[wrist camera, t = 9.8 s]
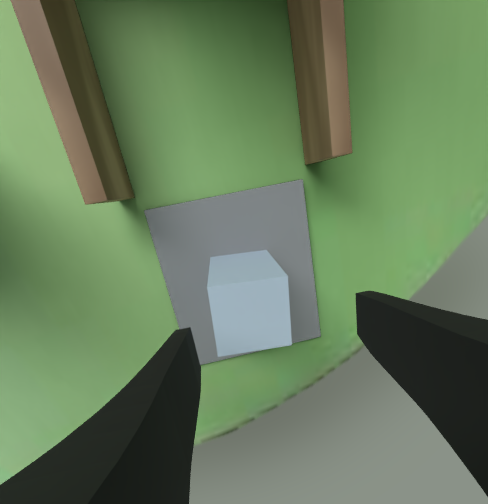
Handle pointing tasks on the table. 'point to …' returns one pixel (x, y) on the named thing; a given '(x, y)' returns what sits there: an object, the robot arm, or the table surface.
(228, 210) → the pad
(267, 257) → the block
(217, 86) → the table surface
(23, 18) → the brown u-shaped frame
